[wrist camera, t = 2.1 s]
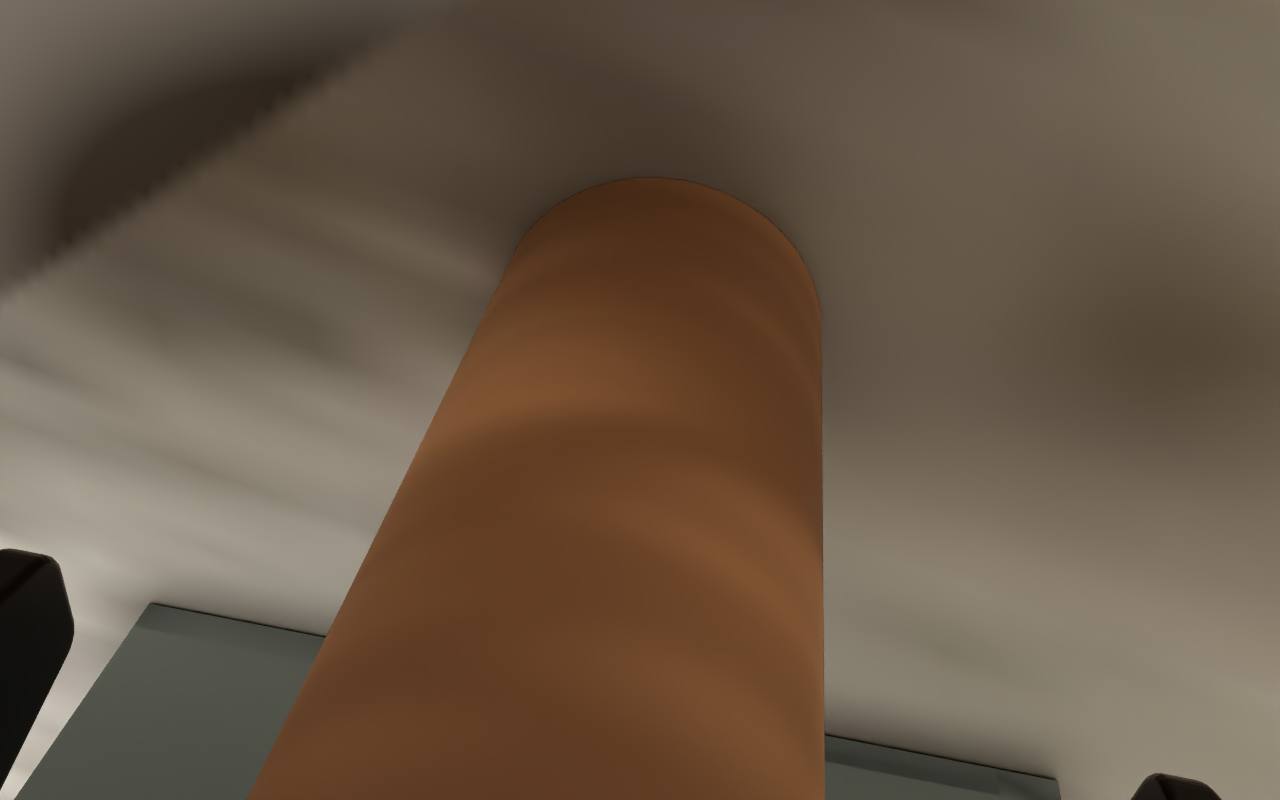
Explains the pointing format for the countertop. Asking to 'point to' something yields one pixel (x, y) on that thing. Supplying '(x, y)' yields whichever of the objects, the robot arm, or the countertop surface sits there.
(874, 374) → the countertop surface
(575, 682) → the peg
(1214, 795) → the robot arm
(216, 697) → the open box
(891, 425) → the countertop surface
